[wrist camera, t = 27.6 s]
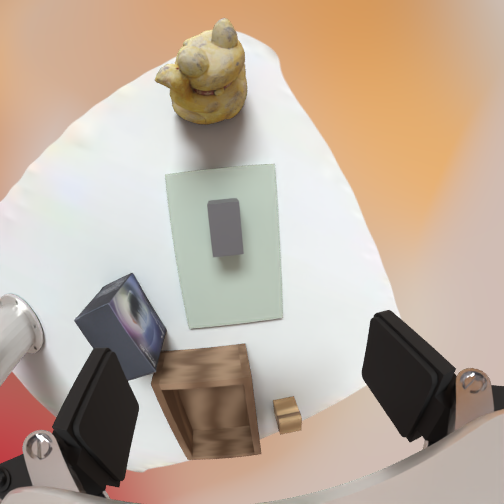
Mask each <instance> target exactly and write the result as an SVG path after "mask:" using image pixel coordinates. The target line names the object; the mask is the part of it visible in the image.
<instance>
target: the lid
mask: <svg viewBox="0 0 504 504" xmlns="http://www.w3.org/2000/svg"><path fill="white" fill-rule="evenodd" d="M165 180H166V190H167V199H168V207H169V215H170V223H171V230H172V237H173V244H174V251H175V257H176V263H177V269H178V275H179V281H180V286H181V291H182V297H183V302H184V307H185V312H186V317H187V321H188V326H189V329H192V328H203V327H213V326H223V325H232V324H241V323H249V322H257V321H264V320H271V319H278V318H283V308H282V281H281V259H280V239H279V221H278V205H277V189H276V175H275V164H263V165H248V166H235V167H224V168H214V169H205V170H197V171H188V172H181V173H173V174H166V175H165Z"/></svg>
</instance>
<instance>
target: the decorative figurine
mask: <svg viewBox="0 0 504 504" xmlns="http://www.w3.org/2000/svg"><path fill="white" fill-rule="evenodd" d="M244 62H245V52H244V50H243V47H242V45H241V43H240V42H239V40H238V38H237V33H236V31H235V30H234V27H233V26H232V24H231V22H230V21H229V20H228V19H226V18H222V19H220V20H219V21H218V22H217V23H216V24H215V25H214V28H213V30H208V31H204V32H202V33H201V34H200V35H197V36H194V37H192V38H190V39H187V40H186V41H185V42H184V43H183V47H182V48H181V49H180V50H179V52H178V55H177V58H176V62H175V64H167V65H165V66H164V67H162V68H161V69H160V70H159V72H158V73H157V75H156V78H155V81H156V82H157V83H160V84H162V85H164V86H166V87H168V88H170V97H171V99H172V106H173V108H174V111H175V112H176V113H177V114H178V115H179V116H180V117H182V118H183V119H185V120H188V121H190V122H193V123H197V124H212V123H216V122H219V121H222V120H225V119H230V118H233V117H234V116H235V115H236V114H237V113H239V111H240V110H241V109H242V107H243V105H244V102H245V99H246V96H247V81H246V76H245V73H246V71H245V64H244Z"/></svg>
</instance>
